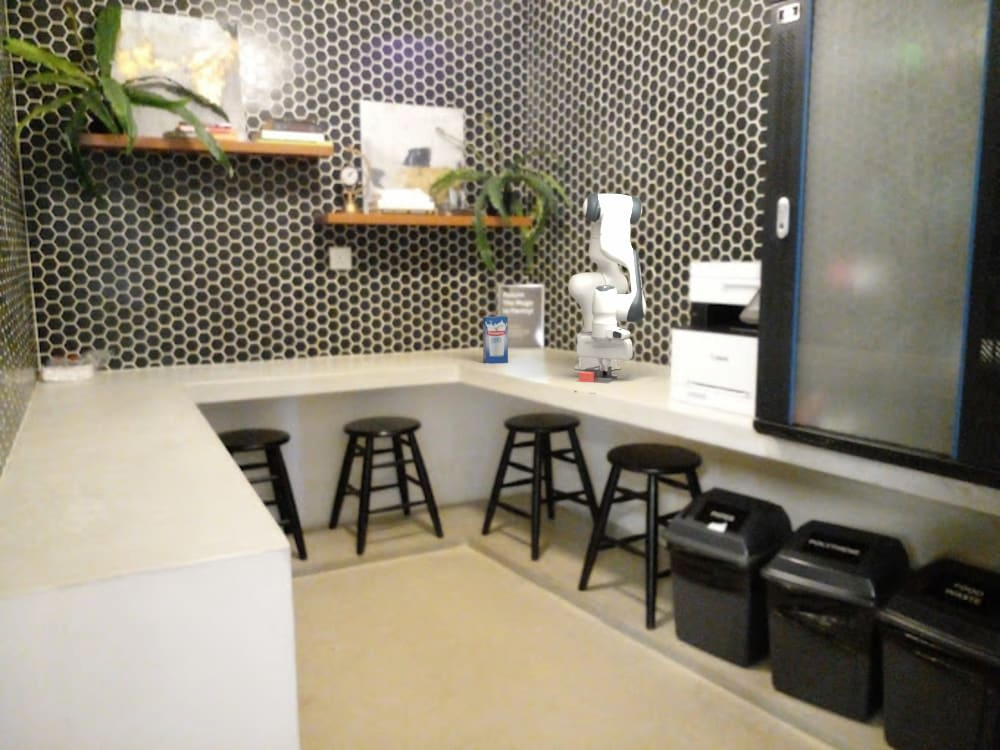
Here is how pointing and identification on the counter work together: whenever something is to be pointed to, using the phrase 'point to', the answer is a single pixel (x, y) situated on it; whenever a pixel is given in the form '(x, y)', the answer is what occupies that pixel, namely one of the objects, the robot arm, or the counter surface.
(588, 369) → the breaker
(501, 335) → the milk carton
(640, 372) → the counter surface
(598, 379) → the panel
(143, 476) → the counter surface
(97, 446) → the counter surface
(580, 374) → the red block
